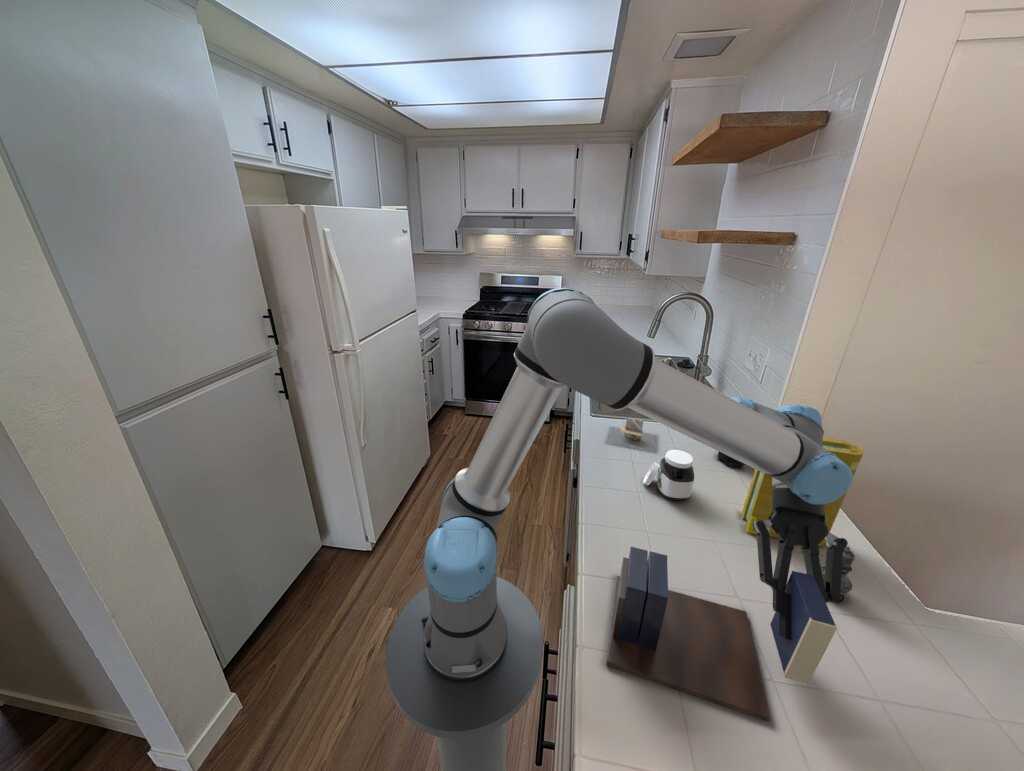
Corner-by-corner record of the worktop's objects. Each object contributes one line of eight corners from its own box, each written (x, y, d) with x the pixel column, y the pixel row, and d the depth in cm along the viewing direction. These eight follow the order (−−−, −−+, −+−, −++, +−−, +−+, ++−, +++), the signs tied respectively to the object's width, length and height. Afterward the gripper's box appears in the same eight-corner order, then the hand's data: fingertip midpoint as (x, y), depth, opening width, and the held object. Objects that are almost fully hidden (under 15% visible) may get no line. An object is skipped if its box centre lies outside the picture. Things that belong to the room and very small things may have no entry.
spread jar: (693, 504, 102) (702, 468, 97) (650, 503, 102) (657, 467, 97) (676, 476, 113) (683, 442, 108) (638, 476, 113) (643, 442, 108)
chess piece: (834, 608, 74) (856, 562, 70) (803, 584, 79) (822, 539, 75) (853, 598, 76) (875, 553, 72) (821, 575, 81) (841, 531, 77)
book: (746, 532, 92) (775, 443, 83) (740, 514, 98) (766, 429, 89) (829, 550, 88) (870, 457, 78) (818, 529, 94) (854, 441, 84)
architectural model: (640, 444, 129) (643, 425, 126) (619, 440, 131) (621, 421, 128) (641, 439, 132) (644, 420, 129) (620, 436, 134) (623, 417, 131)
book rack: (606, 664, 65) (615, 607, 59) (616, 578, 80) (624, 527, 75) (768, 721, 57) (796, 662, 52) (745, 614, 73) (764, 560, 68)
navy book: (784, 677, 59) (811, 620, 54) (769, 624, 67) (791, 570, 62) (808, 684, 58) (837, 627, 53) (790, 629, 66) (814, 575, 61)
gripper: (840, 504, 69) (847, 654, 61) (740, 484, 74) (734, 621, 66) (865, 499, 62) (876, 666, 54) (753, 478, 67) (748, 628, 59)
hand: (798, 641), depth 60 cm, fingers closed on navy book, 3 cm apart
